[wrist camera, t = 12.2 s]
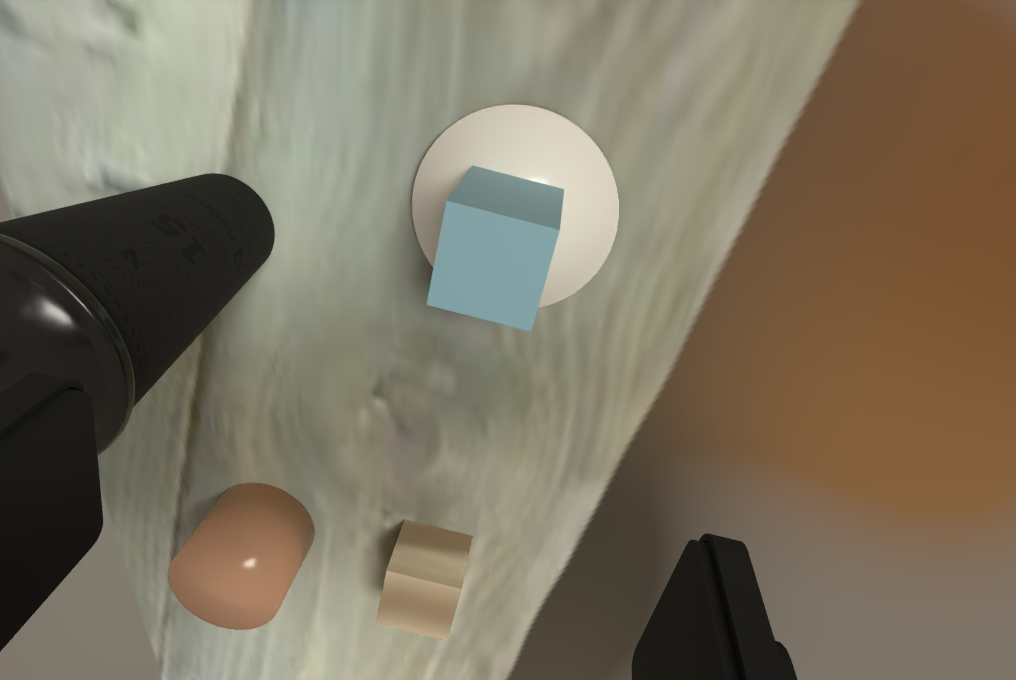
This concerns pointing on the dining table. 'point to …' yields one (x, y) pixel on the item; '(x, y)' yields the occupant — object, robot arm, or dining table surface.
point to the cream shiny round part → (533, 156)
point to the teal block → (496, 247)
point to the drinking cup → (124, 285)
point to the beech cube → (424, 579)
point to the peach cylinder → (243, 557)
